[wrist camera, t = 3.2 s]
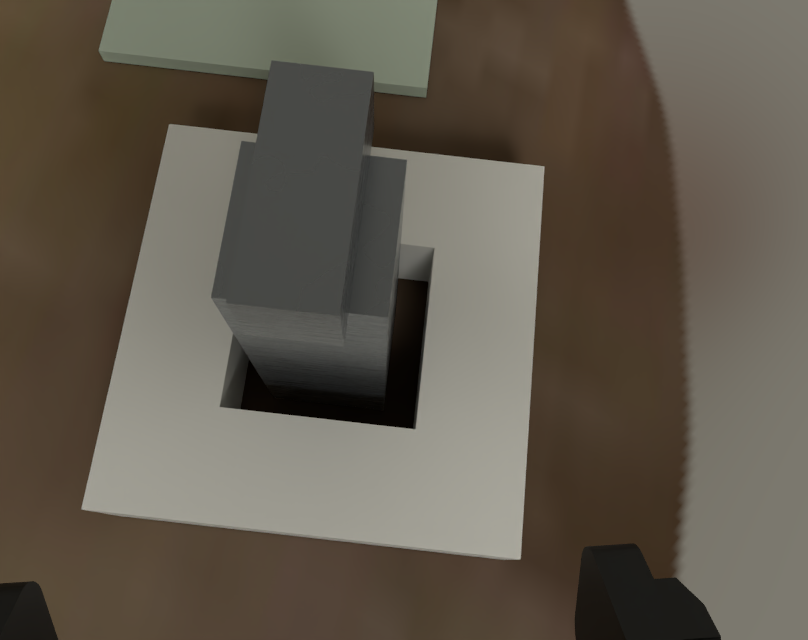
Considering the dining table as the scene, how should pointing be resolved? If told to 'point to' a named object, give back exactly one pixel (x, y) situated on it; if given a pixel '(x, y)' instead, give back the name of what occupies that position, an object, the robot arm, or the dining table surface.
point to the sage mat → (277, 37)
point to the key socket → (322, 438)
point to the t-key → (314, 241)
